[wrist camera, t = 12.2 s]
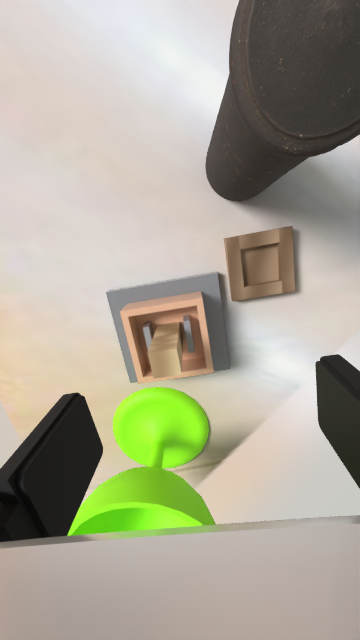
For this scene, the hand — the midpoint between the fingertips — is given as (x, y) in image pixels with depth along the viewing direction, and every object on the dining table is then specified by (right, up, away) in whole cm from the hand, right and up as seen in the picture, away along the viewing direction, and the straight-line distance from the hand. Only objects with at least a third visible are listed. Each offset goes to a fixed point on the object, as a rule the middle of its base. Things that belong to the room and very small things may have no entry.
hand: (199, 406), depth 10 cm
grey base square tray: (-2, +2, +26) cm, 26 cm away
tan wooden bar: (-2, +2, +24) cm, 24 cm away
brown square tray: (+9, +11, +23) cm, 27 cm away
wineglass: (-4, -15, +32) cm, 35 cm away
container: (+6, +22, +20) cm, 30 cm away
